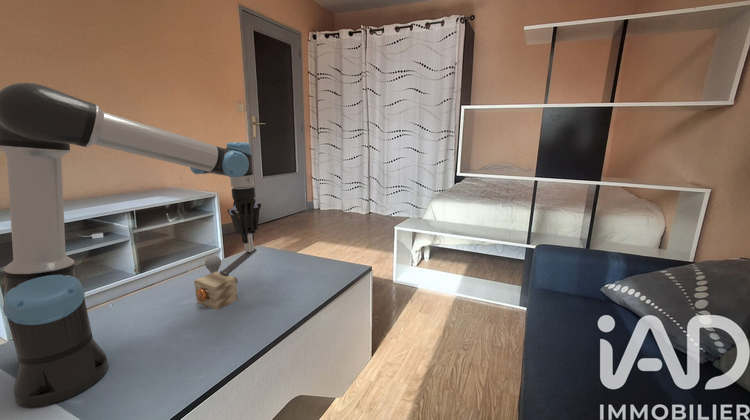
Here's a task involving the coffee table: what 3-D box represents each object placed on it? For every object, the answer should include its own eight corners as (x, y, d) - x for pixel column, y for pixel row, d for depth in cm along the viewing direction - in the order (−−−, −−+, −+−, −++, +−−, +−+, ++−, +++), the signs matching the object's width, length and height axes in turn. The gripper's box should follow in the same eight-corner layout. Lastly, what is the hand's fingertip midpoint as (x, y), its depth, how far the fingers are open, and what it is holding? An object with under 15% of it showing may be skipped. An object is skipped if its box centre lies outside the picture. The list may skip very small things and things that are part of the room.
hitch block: (216, 310, 102) (214, 287, 100) (197, 302, 106) (194, 280, 105) (237, 299, 109) (235, 277, 107) (218, 292, 113) (216, 271, 111)
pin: (204, 303, 101) (203, 291, 100) (196, 299, 103) (195, 288, 102) (239, 286, 113) (238, 275, 112) (231, 283, 114) (230, 273, 113)
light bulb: (218, 283, 120) (215, 258, 118) (204, 283, 120) (201, 258, 118) (225, 277, 126) (222, 253, 123) (211, 277, 126) (209, 253, 123)
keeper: (226, 276, 108) (225, 274, 107) (220, 274, 109) (219, 272, 109) (257, 251, 119) (256, 248, 118) (251, 249, 120) (250, 247, 120)
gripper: (234, 191, 104) (241, 258, 110) (265, 185, 116) (270, 246, 121) (219, 189, 108) (226, 254, 113) (250, 183, 119) (256, 243, 125)
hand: (249, 250), depth 117 cm, fingers closed
